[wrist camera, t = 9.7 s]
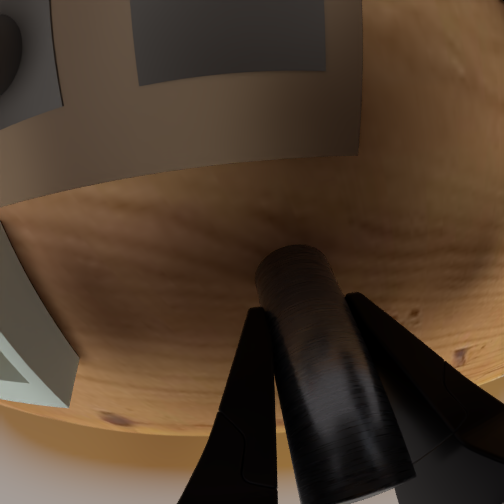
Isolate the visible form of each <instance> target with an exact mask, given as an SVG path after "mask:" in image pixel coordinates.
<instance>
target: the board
mask: <svg viewBox="0 0 504 504" xmlns="http://www.w3.org/2000/svg"><path fill="white" fill-rule="evenodd" d="M362 71H363V24H362V0H0V207H4V206H7V205H11V204H14V203H18V202H22V201H25V200H29V199H33V198H37V197H41V196H45V195H49V194H53V193H58V192H62V191H66V190H71V189H75V188H80V187H84V186H89V185H94V184H99V183H104V182H109V181H114V180H120V179H125V178H131V177H137V176H143V175H149V174H155V173H161V172H168V171H175V170H182V169H189V168H197V167H205V166H213V165H222V164H231V163H241V162H251V161H263V160H275V159H289V158H305V157H326V156H358V148H359V135H360V120H361V101H362Z"/></svg>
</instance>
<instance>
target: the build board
mask: <svg viewBox="0 0 504 504" xmlns="http://www.w3.org/2000/svg"><path fill="white" fill-rule="evenodd" d="M79 359H80V358H79V357H78V355H77V354H76V353H75V351H74V350H73V349H72V347H71V346H70V344H69V343H68V342H67V340H66V339H65V337H64V336H63V334H62V333H61V331H60V330H59V328H58V327H57V325H56V324H55V322H54V321H53V319H52V318H51V316H50V314H49V313H48V311H47V310H46V308H45V306H44V305H43V303H42V301H41V300H40V298H39V296H38V295H37V293H36V291H35V289H34V288H33V286H32V284H31V282H30V281H29V279H28V277H27V275H26V273H25V271H24V270H23V268H22V266H21V264H20V262H19V260H18V258H17V256H16V254H15V252H14V250H13V248H12V246H11V244H10V242H9V239H8V237H7V235H6V233H5V231H4V228H3V226H2V224H1V222H0V399H3V400H9V401H15V402H22V403H28V404H36V405H44V406H52V407H62V408H69V406H70V401H71V396H72V391H73V386H74V381H75V377H76V372H77V368H78V363H79Z"/></svg>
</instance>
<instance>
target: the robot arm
mask: <svg viewBox="0 0 504 504" xmlns="http://www.w3.org/2000/svg"><path fill="white" fill-rule="evenodd" d="M503 1H504V0H503ZM345 299H346V301H347V304H348V306H349V308H350V310H351V312H352V315H353V317H354V319H355V321H356V323H357V326H358V328H359V330H360V332H361V335H362V337H363V339H364V342H365V344H366V346H367V348H368V351H369V353H370V355H371V358H372V360H373V362H374V365H375V367H376V370H377V372H378V374H379V377H380V379H381V382H382V384H383V387H384V389H385V392H386V394H387V397H388V399H389V402H390V404H391V407H392V409H393V412H394V414H395V417H396V420H397V422H398V425H399V428H400V430H401V433H402V436H403V438H404V441H405V444H406V447H407V449H408V452H409V455H410V458H411V461H412V464H413V467H414V470H415V472H416V475H417V477H415V478H414V479H412V480H410V481H408V482H406V483H404V484H402V485H400V486H397V487H395V491H396V495H397V499H398V502H399V504H504V404H503V403H502V402H501V401H499V400H498V399H496V398H495V397H493V396H492V395H490V394H489V393H487V392H486V391H484V390H483V389H481V388H480V387H479V386H477V385H476V384H474V383H473V382H472V381H470V380H469V379H467V378H466V377H465V376H464V375H462V374H461V373H460V372H459V371H457V370H456V369H455V368H453V367H452V366H451V365H450V364H449V363H447V362H446V361H444V359H443V358H441V357H440V356H439V355H438V354H436V353H435V352H434V351H433V350H432V349H430V348H429V347H428V346H427V345H425V344H424V343H423V342H422V341H421V340H419V339H418V338H417V337H416V336H414V335H413V334H412V333H411V332H409V331H408V330H407V329H406V328H404V327H403V326H402V325H401V324H399V323H398V322H397V321H396V320H394V319H393V318H392V317H391V316H389V315H388V314H387V313H386V312H384V311H383V310H382V309H381V308H379V307H378V306H377V305H375V304H374V303H373V302H372V301H370V300H369V299H368V298H367V297H365V296H364V295H363V294H361V293H359V292H354V293H348V294H346V296H345ZM218 410H219V412H217V415H216V418H215V422H214V425H213V428H212V430H211V433H210V436H209V439H208V442H207V444H206V446H205V449H204V451H203V453H202V455H201V458H200V460H199V462H198V464H197V466H196V468H195V470H194V472H193V474H192V476H191V478H190V480H189V482H188V484H187V486H186V488H185V490H184V492H183V494H182V496H181V497H180V499H179V501H178V503H177V504H278V491H277V451H276V418H275V390H274V364H273V345H272V338H271V334H270V330H269V326H268V322H267V318H266V314H265V310H264V308H263V307H254V308H250V309H249V310H248V313H247V317H246V320H245V323H244V327H243V330H242V333H241V337H240V340H239V343H238V347H237V350H236V353H235V357H234V360H233V363H232V367H231V370H230V373H229V377H228V380H227V383H226V386H225V390H224V393H223V396H222V399H221V403H220V406H219V409H218Z"/></svg>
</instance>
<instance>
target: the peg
mask: <svg viewBox="0 0 504 504" xmlns="http://www.w3.org/2000/svg"><path fill="white" fill-rule="evenodd" d="M255 281H256V287H257V292H258V297H259V302H260V307H263V308H264V310H265V314H266V318H267V322H268V326H269V330H270V334H271V338H272V345H273V364H274V376H275V381H276V386H277V391H278V396H279V401H280V405H281V410H282V415H283V420H284V425H285V430H286V434H287V440H288V444H289V449H290V454H291V459H292V464H293V469H294V473H295V479H296V484H297V488H298V493H299V498H300V503H301V504H351V503H354V502H357V501H360V500H364V499H366V498H369V497H372V496H375V495H378V494H380V493H383V492H386V491H388V490H390V489H393V488H395V487H397V486H400V485H402V484H404V483H406V482H408V481H410V480H412V479H414V478H415V477H417V475H416V472H415V470H414V467H413V464H412V461H411V458H410V455H409V452H408V449H407V447H406V444H405V441H404V438H403V436H402V433H401V430H400V428H399V425H398V422H397V420H396V417H395V414H394V412H393V409H392V407H391V404H390V402H389V399H388V397H387V394H386V392H385V389H384V387H383V384H382V382H381V379H380V377H379V374H378V372H377V370H376V367H375V365H374V362H373V360H372V358H371V355H370V353H369V351H368V348H367V346H366V344H365V342H364V339H363V337H362V335H361V332H360V330H359V328H358V326H357V323H356V321H355V319H354V317H353V315H352V312H351V310H350V308H349V306H348V304H347V301H346V299H345V297H344V295H343V293H342V291H341V289H340V287H339V284H338V282H337V280H336V278H335V276H334V274H333V272H332V270H331V268H330V266H329V264H328V262H327V260H326V258H325V256H324V255H323V254H322V253H321V252H320V251H319V250H317V249H316V248H313V247H310V246H306V245H292V246H287V247H283V248H281V249H278V250H276V251H274V252H273V253H271V254H270V255H269V256H267V257H266V258H265V259H264V260H263V261H262V263H261V264H260V265H259V267H258V269H257V272H256V276H255Z"/></svg>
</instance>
